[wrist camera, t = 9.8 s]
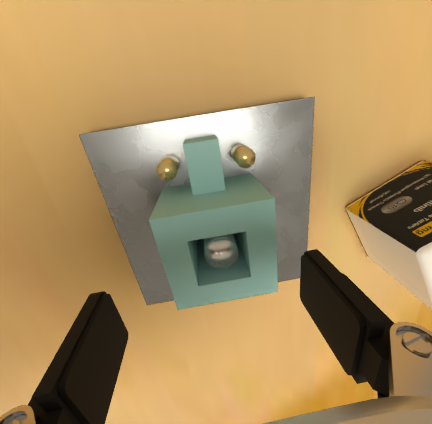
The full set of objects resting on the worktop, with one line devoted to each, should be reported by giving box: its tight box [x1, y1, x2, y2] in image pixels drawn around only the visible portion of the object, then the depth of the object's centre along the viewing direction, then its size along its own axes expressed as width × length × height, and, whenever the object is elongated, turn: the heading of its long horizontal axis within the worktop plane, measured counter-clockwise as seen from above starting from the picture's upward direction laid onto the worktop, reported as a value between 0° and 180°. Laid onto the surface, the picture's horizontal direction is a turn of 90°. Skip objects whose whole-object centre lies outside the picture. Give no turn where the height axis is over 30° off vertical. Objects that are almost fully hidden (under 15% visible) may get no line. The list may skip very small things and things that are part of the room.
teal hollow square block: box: [149, 135, 278, 310], centre depth 14 cm, size 9×6×5 cm
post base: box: [79, 97, 315, 305], centre depth 15 cm, size 15×15×6 cm
